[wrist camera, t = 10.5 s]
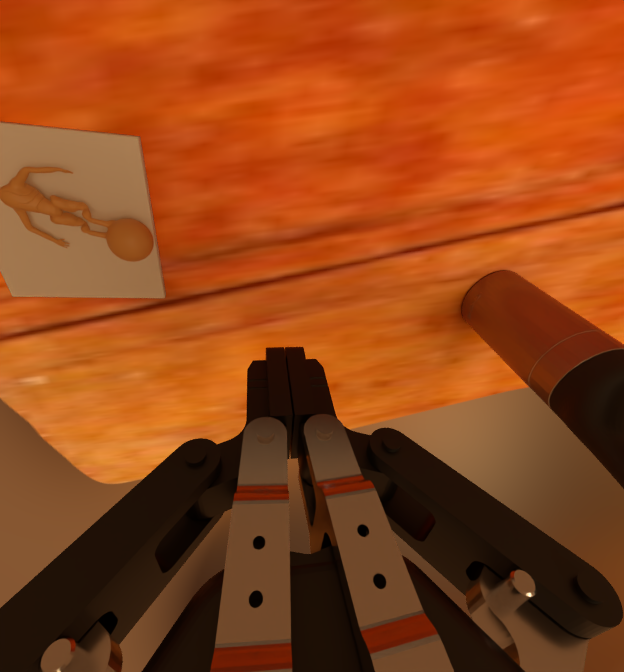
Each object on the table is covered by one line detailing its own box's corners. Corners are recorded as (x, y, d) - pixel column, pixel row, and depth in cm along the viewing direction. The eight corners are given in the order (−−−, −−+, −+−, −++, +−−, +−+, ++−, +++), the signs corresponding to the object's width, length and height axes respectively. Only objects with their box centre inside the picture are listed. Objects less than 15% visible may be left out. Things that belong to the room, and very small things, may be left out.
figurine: (171, 210, 31) (47, 127, 29) (128, 234, 26) (-23, 139, 24) (153, 273, 36) (47, 207, 34) (115, 302, 31) (-10, 228, 29)
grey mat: (140, 136, 29) (137, 137, 29) (165, 294, 38) (164, 298, 38) (-66, 114, 26) (-74, 115, 25) (16, 292, 35) (12, 296, 35)
